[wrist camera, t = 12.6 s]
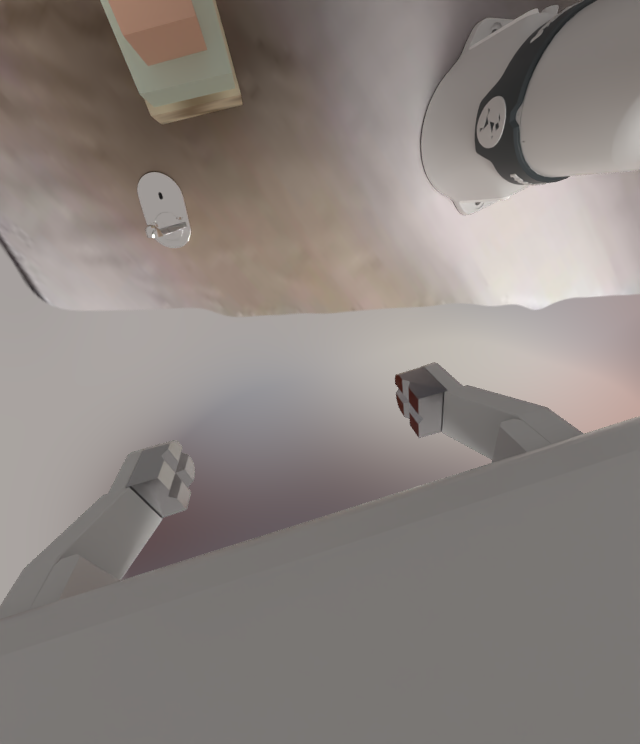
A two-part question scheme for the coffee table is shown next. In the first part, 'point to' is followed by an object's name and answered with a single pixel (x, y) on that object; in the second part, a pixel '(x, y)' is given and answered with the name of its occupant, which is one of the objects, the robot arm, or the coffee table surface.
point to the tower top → (180, 63)
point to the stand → (164, 210)
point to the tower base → (199, 98)
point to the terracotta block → (159, 28)
